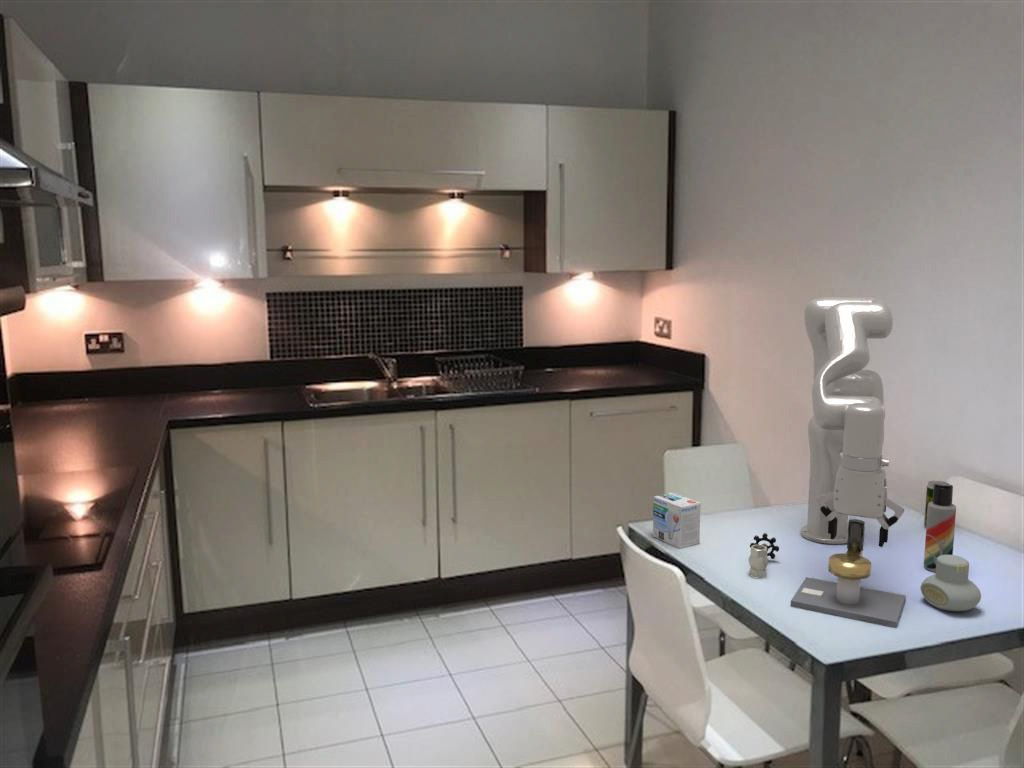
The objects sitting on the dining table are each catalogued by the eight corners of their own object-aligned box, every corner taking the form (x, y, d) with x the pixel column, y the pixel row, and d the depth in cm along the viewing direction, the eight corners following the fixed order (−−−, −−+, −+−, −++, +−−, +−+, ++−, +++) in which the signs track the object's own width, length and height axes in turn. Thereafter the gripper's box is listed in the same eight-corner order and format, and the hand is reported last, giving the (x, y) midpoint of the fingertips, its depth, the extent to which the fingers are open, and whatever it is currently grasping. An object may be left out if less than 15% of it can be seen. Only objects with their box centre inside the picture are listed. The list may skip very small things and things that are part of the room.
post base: (806, 582, 187) (807, 551, 186) (905, 601, 177) (907, 569, 176) (790, 606, 175) (791, 574, 174) (896, 627, 165) (898, 593, 164)
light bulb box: (651, 536, 217) (652, 495, 215) (671, 531, 220) (672, 491, 218) (680, 549, 208) (680, 506, 206) (700, 544, 211) (701, 502, 209)
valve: (771, 580, 189) (778, 561, 199) (773, 552, 187) (780, 534, 198) (741, 576, 191) (749, 557, 202) (742, 548, 190) (750, 531, 201)
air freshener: (987, 613, 171) (991, 565, 169) (956, 620, 168) (960, 572, 166) (942, 592, 181) (946, 547, 179) (912, 598, 178) (915, 553, 176)
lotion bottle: (924, 571, 192) (930, 486, 188) (922, 562, 197) (928, 479, 193) (953, 574, 190) (959, 488, 186) (949, 565, 195) (956, 481, 192)
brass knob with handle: (875, 558, 181) (878, 522, 179) (867, 582, 169) (870, 543, 167) (836, 552, 184) (837, 516, 183) (825, 575, 173) (827, 536, 171)
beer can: (938, 524, 222) (941, 479, 220) (951, 531, 217) (955, 485, 215) (919, 525, 221) (922, 481, 219) (932, 532, 216) (936, 487, 214)
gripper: (909, 463, 176) (904, 542, 179) (822, 453, 185) (818, 529, 188) (904, 472, 169) (899, 554, 172) (814, 461, 178) (810, 539, 181)
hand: (857, 541), depth 180 cm, fingers open, 9 cm apart
